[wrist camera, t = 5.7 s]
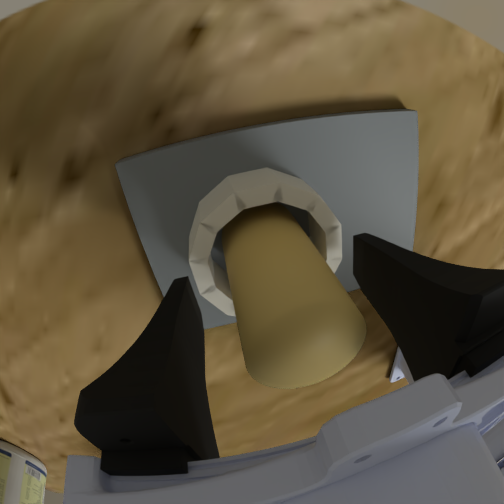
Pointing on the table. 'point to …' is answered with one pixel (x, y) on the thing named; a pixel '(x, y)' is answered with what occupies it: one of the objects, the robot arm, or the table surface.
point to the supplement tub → (20, 476)
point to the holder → (274, 193)
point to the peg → (287, 301)
